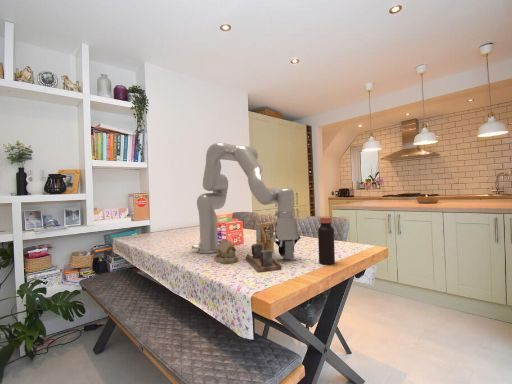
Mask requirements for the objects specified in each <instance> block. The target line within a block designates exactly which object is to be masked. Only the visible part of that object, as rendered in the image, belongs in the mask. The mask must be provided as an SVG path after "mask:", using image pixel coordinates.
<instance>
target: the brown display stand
mask: <svg viewBox="0 0 512 384" xmlns="http://www.w3.org/2000/svg"><path fill="white" fill-rule="evenodd" d="M245 261H246V262H247V263H248V264H249V265H250V266H251V267H252V268H253V269H254V270H255V271H256V272H257V273H264V272H272V271H281V270H282V265H281V263H279V262H278V261H277V260H276V259H275V258H273V252H272V251H271V250H263V245H262V244H256V243H253V244H252V245H251V255H250V254H249V253H247V254H246V256H245Z"/></svg>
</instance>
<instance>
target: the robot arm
mask: <svg viewBox="0 0 512 384" xmlns="http://www.w3.org/2000/svg"><path fill="white" fill-rule="evenodd" d="M258 155H259V154H258V151H257V149H255V148H254V147H253V146H252V147H251V146H247V145H236V144H230V143H226V142H215V143H212V145H210V146H209V147H208V148H207V151H206V154H205V166H204V173H203V178H202V188H203V189H204V190H205V191H208V192H205V193H202V194H200V195H199V196H198V197H197V199H196V207H197V211H198V218H199V219H198V220H199V243H197V244H192V245H191V249H195V250H197V252H198V253H199V254H215V253H217V251H216V248H217V246H218V245H219V242H218V241H219V238H218V236H219V235H218V234H219V233H218V217H217V213H216V211H215V210H220V209H222V208H223V207H224V206H225V204H226V201H227V197H228V195H227V194H228V189H229V180H228V177H227V176H226V175H225V174H222V173H221V172H222V163H221V160H224V161H230V162H231V161H234V162H237V163H238V165H239V166H240V168H241V169H242V172H244V174H245V175H246V177H247V182H248V187H249V190H250V192H251V193H252V195H253V196H254V198H255V199H256V201H257V202H258V203H260V205H263V206H265V205H266V206H269V205H274V204H277V211H276V212H275V213H274V216H275V217H277V218H276V219H275V224H274V236H273V237H272V239H271V240H272V241H273V242H274V244H276V245H277V247H278V254H279V255H280V257H282V256H283V247H282V243H283V241H287V240H293V251H294V252H295V246H296V244H297V243H298V241H299V240H301V239H302V237H301V236H300V235H299V228H298V222H297V218H296V217H295V193H294V192H295V191H294V189H293V188H276V187H275V188H274V187H270V188H269V187H267V186H266V185H265V183H264V181H263V179H262V178H261V177H262V176H261V173H262V172H263V167H262V165H261V164H260V162H259V161H258V157H259V156H258Z"/></svg>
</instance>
